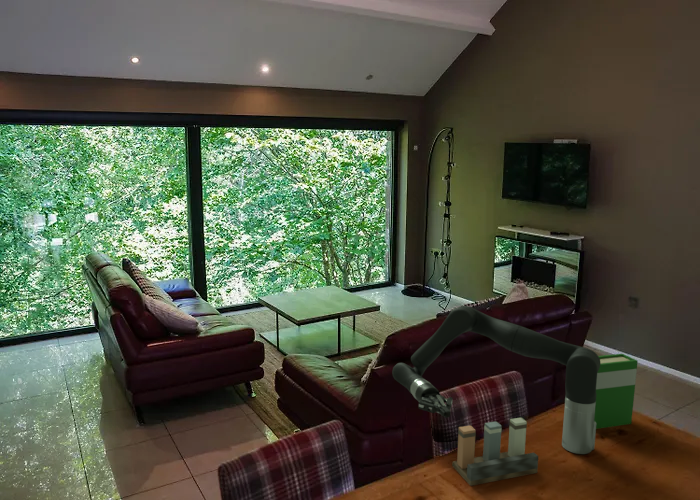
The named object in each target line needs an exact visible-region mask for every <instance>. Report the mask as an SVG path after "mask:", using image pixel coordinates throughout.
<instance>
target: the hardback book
mask: <svg viewBox="0 0 700 500" xmlns="http://www.w3.org/2000/svg"><path fill="white" fill-rule="evenodd" d="M598 357H599V358H600V368H599V370H598V372H597V383H596V394H597V395H596V406H595V418H594V421H595V422H596V430H598V429H599V430H600V429H603V428H612V427H618V426H619V427H620V426H625V425H626V426H627V425H632V419H633V413H634V411H633V409H634V401H635V400H634V399H635V392H636V380H637V373H638V372H637V370H638V362H639V361H638V360H637V359H635V358H633V357H631V356H629V355H626V354H624V353H614V354H607V355H606V354H605V355H598Z"/></svg>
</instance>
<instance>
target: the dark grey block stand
mask: <svg viewBox="0 0 700 500" xmlns="http://www.w3.org/2000/svg"><path fill="white" fill-rule="evenodd" d="M451 464H452V465H451V466H452V468H453V469H454V470H456V472H457V473H458V475H460V476H461V477H462V479H463V480H464V481H465V482H467V485H469V486H471V487H472V486H477V485H482V484H487V483H491V482H497V481H503V480H506V479H512V478H518V477H524V476H528V475H533V474H537V473H538V467H539V455H538V454H537V453H535V452H529V453H528V452H527V453H525V454H523V455H517V456H512V457H510V456H509V455H508V451H504V452H500V459H495V460H490V461H484V460H483V455H482V456H477V457H475V456H474V463H473V464H467V468H464V469H462V468H461V467H460V466H459V465H458V464H457V460H454V461H452V463H451Z"/></svg>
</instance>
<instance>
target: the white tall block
mask: <svg viewBox="0 0 700 500" xmlns="http://www.w3.org/2000/svg"><path fill="white" fill-rule="evenodd" d="M508 425H509V429H508V430H509V431H508V433H509V434H508V447H507V452H508V455H509V456H510V457H512V456H517V455H523V454H526V453H525V452H526V436H527V427H528V422H527V420H525V419H524V418H523V417H517V418H516V417H514V418H510V419H509V424H508Z"/></svg>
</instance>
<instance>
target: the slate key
mask: <svg viewBox="0 0 700 500" xmlns="http://www.w3.org/2000/svg"><path fill="white" fill-rule="evenodd" d="M502 427H503V426H502V425H501V424H500V423H499V422H498V421H489V422H485V423H484V428H483V430H484V431H483V449H482V451H483V453H482V456H483V460H484V461H490V460H495V459H500V453H501V441H502V440H501V439H502V430H503V429H502Z"/></svg>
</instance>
